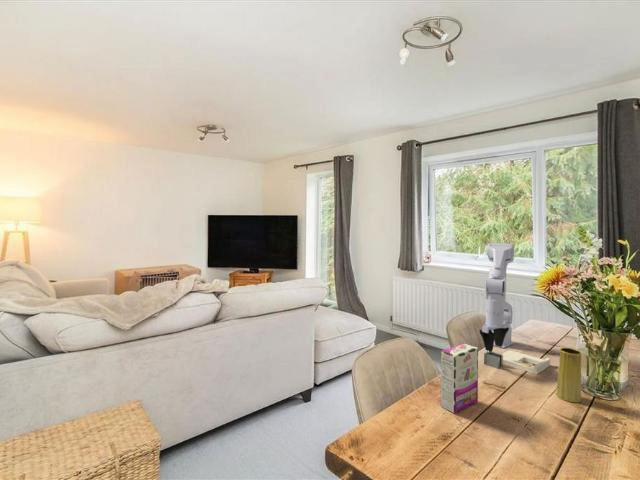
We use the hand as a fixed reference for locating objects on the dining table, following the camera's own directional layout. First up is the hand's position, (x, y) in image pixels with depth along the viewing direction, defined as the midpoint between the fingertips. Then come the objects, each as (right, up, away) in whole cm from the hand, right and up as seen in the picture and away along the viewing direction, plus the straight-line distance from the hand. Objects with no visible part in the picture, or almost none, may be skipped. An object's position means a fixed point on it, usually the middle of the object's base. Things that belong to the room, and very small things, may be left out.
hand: (493, 348), depth 125 cm
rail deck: (+12, -6, +2) cm, 13 cm away
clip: (0, -6, 0) cm, 6 cm away
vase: (+11, -8, -23) cm, 26 cm away
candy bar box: (-24, -8, -27) cm, 37 cm away
